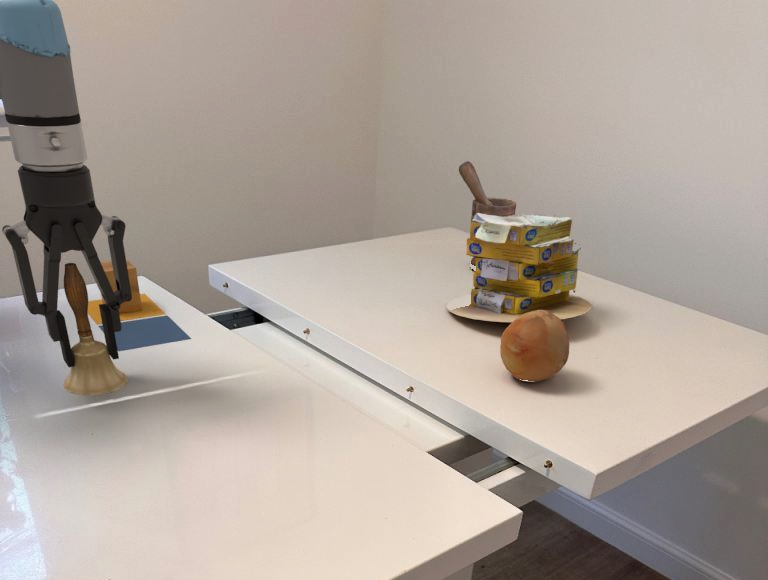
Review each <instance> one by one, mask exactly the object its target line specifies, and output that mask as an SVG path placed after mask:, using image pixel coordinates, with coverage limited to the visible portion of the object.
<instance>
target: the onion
mask: <svg viewBox="0 0 768 580" xmlns="http://www.w3.org/2000/svg"><path fill="white" fill-rule="evenodd" d="M499 349H500V350H499V353H500V359H501V362H502V364H503V366H504V368H505V369H506V370H507V371H508V372H509V374H511V375H512V376H513V377H514V378H515V377H516V378H515V379H517V378H518V379H521V380H528V381H539V382H541V381H545V380H548V379H550V378H552V377H553V376H555V375H557V374H558V373H559V372H561V370H562V369H563V367H565V366H566V364H567V362H568V359H569V355H570V339H569V335H568V330H567V329H566V325H565V324H564V322H563V321H562V319H560V318H558V317H557V316H556V315H554V314H553V313H551V312H550V311H548V310H536V311H531V312H528V313H525V314H523V315H521V316H520V317H518V318H517V319H515V320H514V321H513V322H510V324H509V325H508V326H507V327H506V328H505V329H504V331H503V332H502V334H501V337H500V347H499ZM518 379H517V380H518ZM540 380H541V381H540Z"/></svg>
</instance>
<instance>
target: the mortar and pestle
mask: <svg viewBox="0 0 768 580" xmlns="http://www.w3.org/2000/svg"><path fill="white" fill-rule="evenodd" d="M458 172H459V175H460V177H461V179H462V180H463V182H464V183H465V184H466V186H467V187H468V189H469V191H470V192H471V194H472V195H473V197H474V199H473V200H472V207H471V216H470V222H471V221H472V220H473V218H474V216H475V215H476V213H481V214H486V215H494V216H501V217H506V216H507V217H508V215H510V216H512V215H516V209H517V202H516V201H514V200H512V199H508V198H502V197H501V198H500V197H487V195H486V193H485V191H484V189H483V186H482V184H481V181H480V178H479V176H478V173H477V171H476V167H475V166H474V165H473V163H472V162H471V161H469V160H466V161H465V162H463V163H461V164H460V165H459V166H458ZM470 262H471V264H472V265H474V266H476V264H475V258H474V257H472V258H471V260H470Z"/></svg>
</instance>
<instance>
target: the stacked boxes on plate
mask: <svg viewBox="0 0 768 580" xmlns="http://www.w3.org/2000/svg"><path fill="white" fill-rule="evenodd" d="M572 224H573V218H571V217H570V216H565V217H564V216H563V217H560V216H557V215H544V214H543V215H542V214H539V212H538V211H537V212H536V213H535V215H534V213H530V214H521V213H518V214H515V215H512V216H510V215H508V217H507V216H506V217H501V216H494V215H486V214H481V213H476V215H475V216H474V218H473V220H472V221H471V220H470V229H469V230H470V232H469V236H468V237H467V238H466V256H469V257H472V258H473V257H474V258H475V264H476V271H473V272H472V286H473V288H472V289H471V290H470V294H471V304H470V305H469V306H465V307H460V308H456V309H453V310H448V309H447V311H448V312H450V313H452V314H453V315H456V316H458V317H463V318H467V319H472V320H479V321H484V322H485V321H486V322H496V323H497V322H498V323H512V322H513V321H514V320H515V319H517V318H518V317H520V316H521V315H523V314H525V313H528V312H531V311H536V310H548V311H550V312H551V313H553V314H554V315H556V316H557V317H558V318H560V320H565V319H571V318H575V317H578V316H579V317H580V316H582V315H585V314H586V313H587V312H589V311H591V310H592V309H593V306H592V305H593V304H592V303H591V302H590V301H588V300H586V299H584V298H582V297H579V296H576V295H573V294H570V291H573V293H576V287H577V282H578V281H577V279H578V272H579V269H578V263H579V261H578V260H579V251H580V250H581V249H582V247H579V248H578V249H577V250H573V248H574V244H575V245H577V242H574V241H575V239H572V238H571V237H570V236H571V230H572ZM580 245H581V244H580V243H579V244H578V246H580Z"/></svg>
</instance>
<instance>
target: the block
mask: <svg viewBox="0 0 768 580" xmlns="http://www.w3.org/2000/svg"><path fill="white" fill-rule="evenodd" d="M100 262H101V265H102V267H103V269H104V271H105V274H106V276H107V278H108V280H109V283H110V285H111V287H112V289H113V292H115V291H117V289H116V283H115V278H114V272H113V266H112V260H108V261H100ZM126 263H127V269H128V275H129V281H130V287H131V293H132V299H131V301H129V302H124V303H122V304H121V305H120V309H119V314H123V313H130V312H136V311H142V305H141V298H140V294H141V292H140V286H139V279H138V272H137V267H136V266H135V265H134V264H133V263H131V262H130V261H129V260H128V259H127V258H126ZM100 297H101V299H102V303H103V304H105V301H104V299H103V297H102V295H101V294H100ZM105 305H106V304H105Z"/></svg>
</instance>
